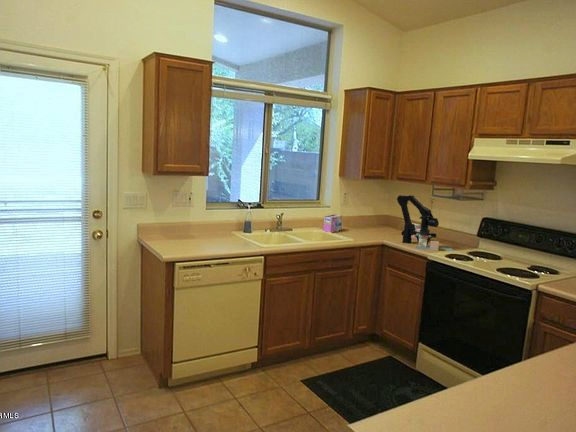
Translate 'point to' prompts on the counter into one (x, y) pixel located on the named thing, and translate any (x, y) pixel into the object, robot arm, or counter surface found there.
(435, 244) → the terracotta block
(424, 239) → the maple block
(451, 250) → the teal pad
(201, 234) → the counter surface
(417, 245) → the card
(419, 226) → the stack of blocks
